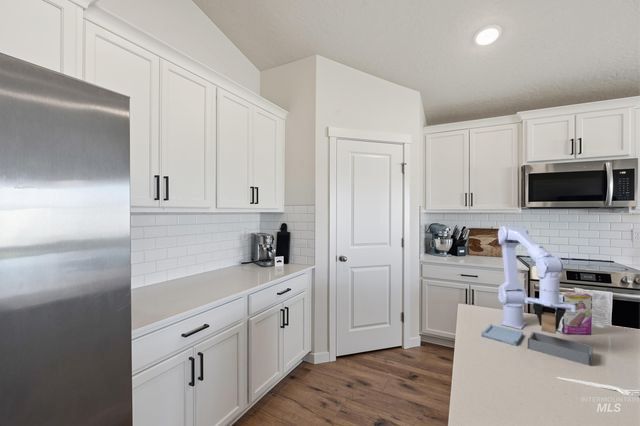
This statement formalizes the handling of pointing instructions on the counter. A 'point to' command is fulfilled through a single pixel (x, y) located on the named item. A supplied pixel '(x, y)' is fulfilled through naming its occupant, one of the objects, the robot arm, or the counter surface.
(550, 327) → the walnut block
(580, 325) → the candy bar box
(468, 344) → the counter surface
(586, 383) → the fork
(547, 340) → the gray rectangular bin
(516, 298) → the robot arm
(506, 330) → the light blue tray
